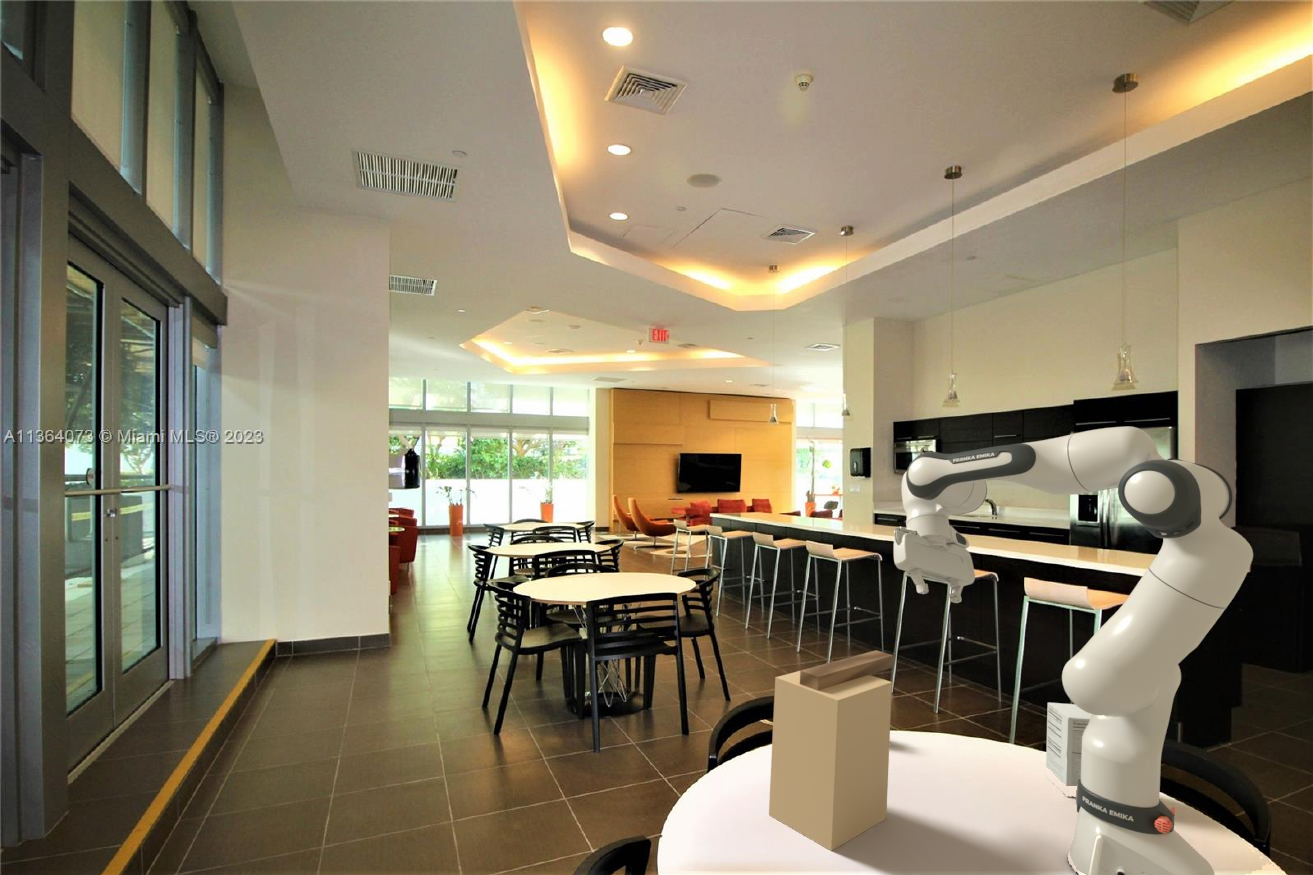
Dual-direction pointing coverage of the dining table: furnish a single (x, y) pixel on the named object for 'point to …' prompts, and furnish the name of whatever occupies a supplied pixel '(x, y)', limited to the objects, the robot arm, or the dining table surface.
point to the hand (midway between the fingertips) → (939, 597)
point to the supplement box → (1065, 741)
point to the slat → (845, 670)
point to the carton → (830, 757)
